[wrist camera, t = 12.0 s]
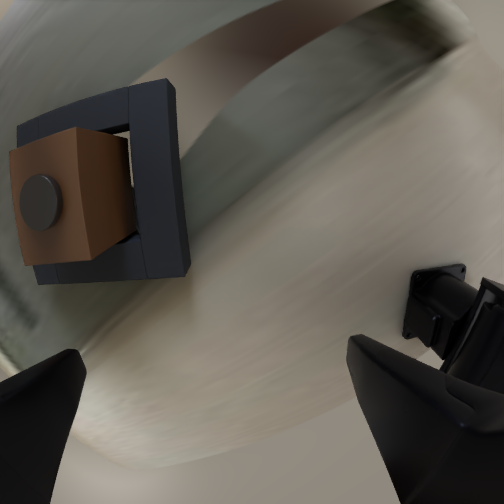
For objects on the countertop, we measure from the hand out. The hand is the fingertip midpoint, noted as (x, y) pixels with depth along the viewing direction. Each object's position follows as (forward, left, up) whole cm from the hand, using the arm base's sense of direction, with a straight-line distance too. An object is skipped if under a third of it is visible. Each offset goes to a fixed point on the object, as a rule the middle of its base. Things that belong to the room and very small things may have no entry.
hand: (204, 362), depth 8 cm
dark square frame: (+8, -6, -12) cm, 16 cm away
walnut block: (+8, -5, -12) cm, 16 cm away
